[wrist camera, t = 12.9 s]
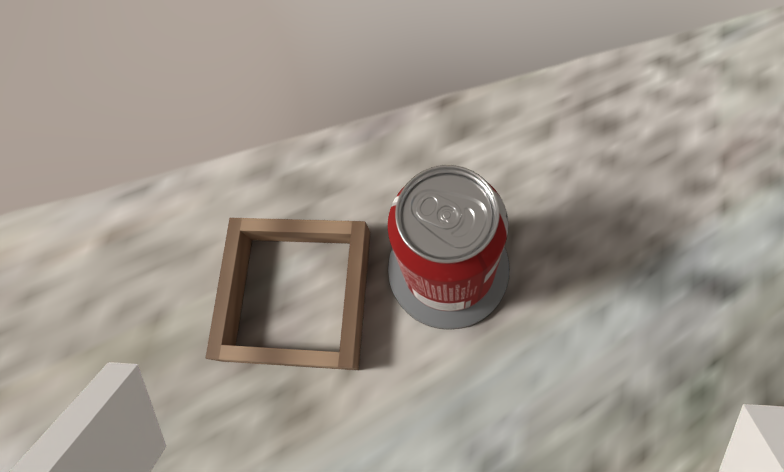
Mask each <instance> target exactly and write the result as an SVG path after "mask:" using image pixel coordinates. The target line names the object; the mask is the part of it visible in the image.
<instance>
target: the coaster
mask: <svg viewBox="0 0 784 472" xmlns="http://www.w3.org/2000/svg"><path fill="white" fill-rule="evenodd" d="M388 275H389V281H390V285H391V289H392V291H393V293H394V296H395V297H396V299H397V301H398V302H399V304H400V305H401V306H402V308H403V309H404V310H405V311H406V312H407V313H408V314H409V315H410V316H412V317H413V318H414V319H416V320H417V321H419V322H421V323H423V324H425V325H428V326H431V327H434V328H439V329H459V328H464V327H467V326H471V325H473V324H475V323H477V322H479V321H481V320H482V319H484V318H485V317H487V316H488V315H489V314H490V313H491V312H492V311H493V310H494V309H495V308H496V307H497V305H498V304H499V302H500V301H501V299H502V297H503V295H504V293H505V290H506V288H507V284H508V280H509V260H508V255H507V252H506V249H505V247H504V249H503V252H502V255H501V258H500V261H499V265H498V268H497V271H496V274H495V277H494V280H493V283H492V285H491V287H490V289H489V291H488V292H487V294H486V295H485V296H484V297H483V298H482V299H481V300H480V301H479V302H477V303H476V304H474V305H473V306H471V307H469V308H466V309H463V310H459V311H451V312H448V311H440V310H436V309H433V308H430V307H428V306H426V305H425V304H423V303H422V302H420V301H419V300H418V299H417V298H416V297H415V296H414V295H413V294H412V293H411V291H410V290H409V288H408V286H407V284H406V282H405V279H404V276H403V274H402V271H401V269H400V266H399V264H398V261H397V259H396V256H395V253H394V251H393V248H392V250H391V254H390V257H389V264H388Z"/></svg>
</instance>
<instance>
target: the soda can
mask: <svg viewBox="0 0 784 472" xmlns="http://www.w3.org/2000/svg"><path fill="white" fill-rule="evenodd" d="M507 234H508V216H507V211H506V208H505V205H504V203H503V201H502V199H501V197H500V196H499V194H498V193H497V191H496V190H495V189H494V188H493V187H492V186H491V185H490V184H489V183H488V182H487V181H486V180H485V179H484V178H482V177H481V176H480V175H479V174H477V173H475V172H474V171H472V170H469V169H467V168H464V167H460V166H454V165H441V166H436V167H432V168H429V169H426V170H424V171H422V172H420V173H419V174H417V175H416V176H414V177H413V178H412V179H411V180H410V181H409V182H408V183H407V184H406V185H405V186H404V187H403V188H402V189H401V191H400V192H399V193H398V195H397V196H396V198H395V200H394V202H393V204H392V206H391V209H390V212H389V217H388V235H389V239H390V243H391V246H392V248H393V251H394V253H395V256H396V259H397V261H398V264H399V266H400V269H401V271H402V274H403V276H404V279H405V282H406V284H407V286H408V288H409V290H410V291H411V293H412V294H413V295H414V296H415V297H416V298H417V299H418V300H419V301H420V302H422V303H423V304H425V305H426V306H428V307H430V308H433V309H436V310H440V311H448V312H451V311H459V310H463V309H466V308H469V307H471V306H473V305H474V304H476V303H477V302H479V301H480V300H481V299H482V298H483V297H484V296H485V295H486V294H487V292H488V291H489V289H490V287H491V285H492V283H493V280H494V277H495V274H496V271H497V268H498V265H499V261H500V258H501V255H502V252H503V249H504V246H505V242H506V239H507Z"/></svg>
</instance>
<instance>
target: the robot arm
mask: <svg viewBox="0 0 784 472" xmlns="http://www.w3.org/2000/svg"><path fill="white" fill-rule="evenodd" d="M165 448H166V444H165V441H164V438H163V435H162V432H161V429H160V426H159V423H158V421H157V418H156V415H155V412H154V409H153V406H152V403H151V400H150V398H149V395H148V392H147V389H146V386H145V383H144V380H143V378H142V375H141V372H140V369H139V366H138V364H127V363H112V362H108V363H107V364H106V365H105V366H104V367H103V369H102V370H101V371H100V372H99V373H98V374H97V375H96V376H95V377H94V378H93V380H92V381H91V382H90V383H89V384H88V385H87V386H86V387H85V388H84V389H83V391H82V392H81V393H80V394H79V395H78V396H77V397H76V398H75V399H74V400H73V402H72V403H71V404H70V405H69V406H68V407H67V408H66V409H65V410H64V412H63V413H62V414H61V415H60V416H59V417H58V418H57V419H56V420H55V421H54V423H53V424H52V425H51V426H50V427H49V428H48V429H47V430H46V431H45V432H44V434H43V435H42V436H41V437H40V438H39V439H38V440H37V441H36V442H35V443H34V445H33V446H32V447H31V448H30V449H29V450H28V451H27V452H26V453H25V455H24V456H23V457H22V458H21V459H20V460H19V461H18V462H17V463H16V464H15V466H14V467H13V468H12V469H11V470H10V471H9V472H150V471H151V470H152V468H153V467H154V465H155V463H156V462H157V460H158V459H159V457H160V455H161V454H162V452H163V451H164V449H165ZM719 472H784V407H782V406H767V405H752V404H743V406H742V409H741V412H740V414H739V417H738V420H737V423H736V425H735V428H734V431H733V434H732V436H731V439H730V442H729V445H728V447H727V450H726V453H725V456H724V458H723V461H722V464H721V467H720V470H719Z"/></svg>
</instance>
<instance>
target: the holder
mask: <svg viewBox="0 0 784 472" xmlns="http://www.w3.org/2000/svg"><path fill="white" fill-rule="evenodd" d="M252 240H259V241H289V242H319V243H349V244H350V248H349V258H348V268H347V279H346V289H345V299H344V310H343V320H342V330H341V341H340V351H339V352H328V351H311V350H295V349H278V348H262V347H245V346H236V340H237V333H238V327H239V321H240V314H241V308H242V301H243V295H244V289H245V282H246V276H247V269H248V263H249V256H250V250H251V244H252ZM369 242H370V230H369V228H368V226H367V224H366V222H363V221H328V220H292V219H256V218H229V224H228V230H227V236H226V242H225V248H224V254H223V259H222V265H221V271H220V277H219V283H218V289H217V294H216V300H215V306H214V312H213V318H212V324H211V329H210V335H209V341H208V347H207V353H206V359H211V360H216V361H223V362H239V363H254V364H270V365H285V366H300V367H316V368H331V369H347V370H359V360H360V348H361V336H362V325H363V313H364V301H365V289H366V278H367V266H368V254H369Z"/></svg>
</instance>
